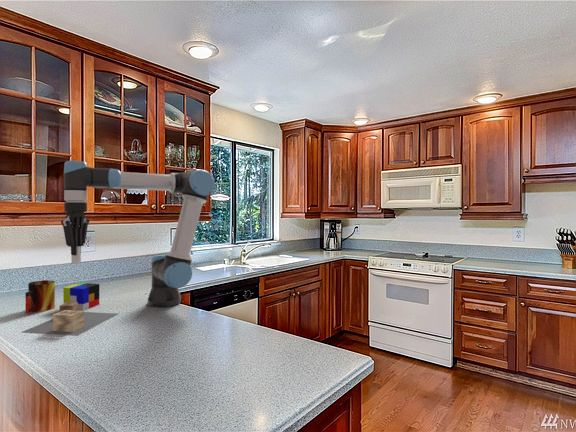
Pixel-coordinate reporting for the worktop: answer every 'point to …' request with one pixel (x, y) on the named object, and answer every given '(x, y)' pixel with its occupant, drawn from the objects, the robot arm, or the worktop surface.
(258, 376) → the worktop surface
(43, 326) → the mat
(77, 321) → the oak block
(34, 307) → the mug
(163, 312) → the worktop surface
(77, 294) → the puzzle toy
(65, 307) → the walnut cube
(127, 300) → the worktop surface
